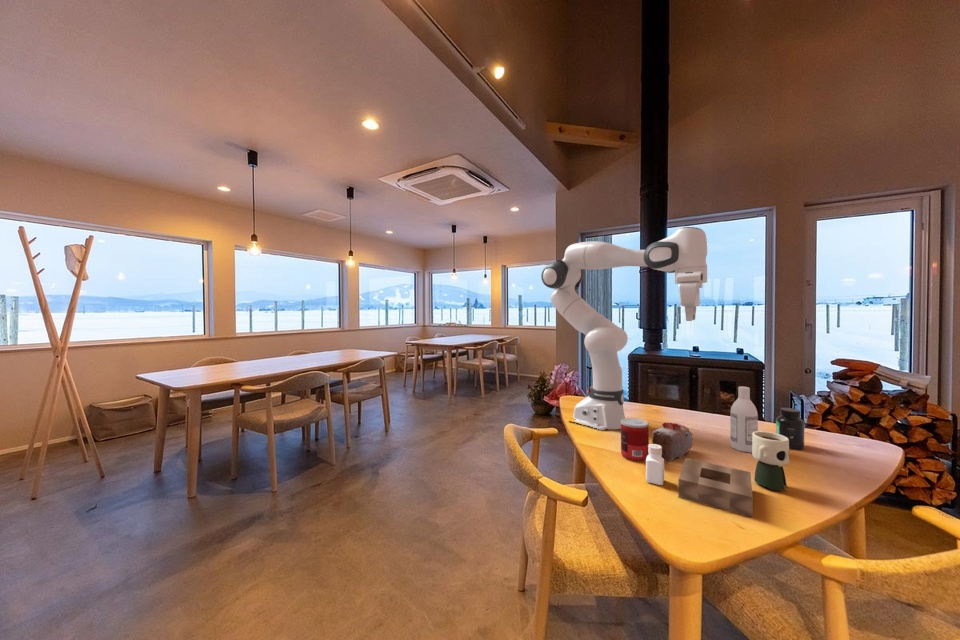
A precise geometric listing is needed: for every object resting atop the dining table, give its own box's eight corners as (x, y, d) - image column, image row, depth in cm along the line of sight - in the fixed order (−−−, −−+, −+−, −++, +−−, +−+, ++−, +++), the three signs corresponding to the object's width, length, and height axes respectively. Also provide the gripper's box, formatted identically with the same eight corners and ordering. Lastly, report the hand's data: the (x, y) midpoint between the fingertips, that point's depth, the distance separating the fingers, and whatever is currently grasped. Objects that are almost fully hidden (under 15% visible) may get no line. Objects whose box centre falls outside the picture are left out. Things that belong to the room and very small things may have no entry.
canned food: (654, 458, 103) (654, 422, 103) (637, 464, 99) (637, 427, 99) (632, 449, 110) (631, 416, 110) (615, 455, 106) (615, 420, 106)
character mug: (778, 499, 80) (778, 445, 80) (743, 485, 87) (743, 435, 86) (797, 486, 86) (797, 436, 85) (762, 475, 92) (763, 427, 92)
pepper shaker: (645, 482, 89) (645, 447, 89) (647, 476, 92) (647, 442, 92) (662, 486, 87) (662, 450, 87) (664, 480, 90) (664, 445, 90)
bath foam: (760, 449, 109) (760, 387, 108) (754, 455, 104) (754, 390, 104) (733, 442, 114) (734, 383, 113) (727, 448, 109) (727, 387, 109)
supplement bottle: (774, 445, 111) (774, 409, 110) (777, 440, 115) (777, 405, 115) (803, 452, 106) (803, 414, 105) (805, 446, 110) (805, 409, 110)
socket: (678, 497, 82) (678, 478, 82) (685, 474, 93) (685, 458, 93) (752, 517, 73) (752, 497, 73) (750, 489, 85) (750, 472, 84)
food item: (668, 444, 114) (668, 415, 114) (694, 452, 108) (694, 421, 107) (648, 455, 105) (648, 424, 105) (676, 464, 99) (676, 431, 99)
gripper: (683, 280, 119) (683, 319, 120) (675, 276, 103) (675, 321, 103) (704, 279, 115) (704, 319, 116) (700, 274, 99) (700, 321, 99)
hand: (690, 320), depth 109 cm, fingers open, 8 cm apart
